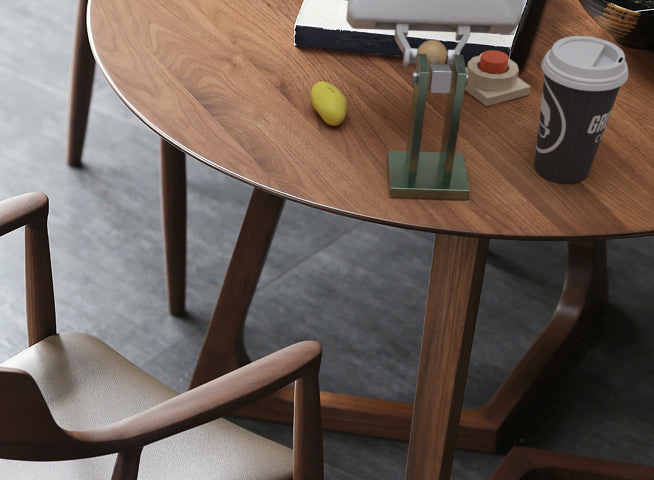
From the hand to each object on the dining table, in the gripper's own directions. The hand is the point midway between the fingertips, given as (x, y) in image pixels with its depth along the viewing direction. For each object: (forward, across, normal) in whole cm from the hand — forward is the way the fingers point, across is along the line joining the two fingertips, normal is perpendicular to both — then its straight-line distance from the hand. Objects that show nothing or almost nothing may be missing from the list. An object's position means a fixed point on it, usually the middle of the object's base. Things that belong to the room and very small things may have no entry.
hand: (431, 66), depth 125 cm
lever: (+3, 0, -3) cm, 4 cm away
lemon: (+3, -12, +12) cm, 17 cm away
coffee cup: (+11, +16, +4) cm, 20 cm away
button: (-5, +10, +16) cm, 19 cm away
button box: (-3, +10, +18) cm, 20 cm away
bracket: (+13, 0, +2) cm, 13 cm away
